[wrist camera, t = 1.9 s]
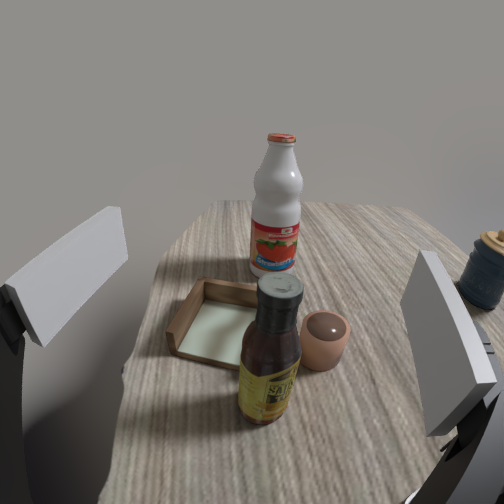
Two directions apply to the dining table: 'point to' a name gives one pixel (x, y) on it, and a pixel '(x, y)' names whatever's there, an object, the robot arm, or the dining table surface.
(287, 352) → the sauce bottle
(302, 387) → the dining table surface
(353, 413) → the dining table surface
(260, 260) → the fruit juice
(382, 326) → the dining table surface
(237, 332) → the wooden tray
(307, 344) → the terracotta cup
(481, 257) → the canister
